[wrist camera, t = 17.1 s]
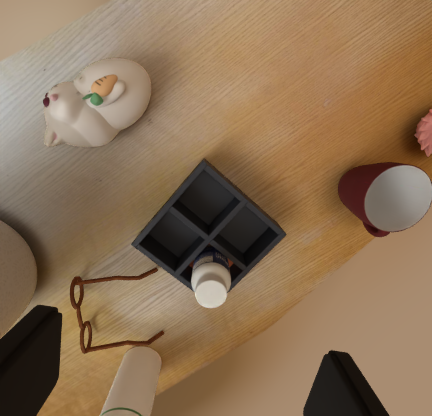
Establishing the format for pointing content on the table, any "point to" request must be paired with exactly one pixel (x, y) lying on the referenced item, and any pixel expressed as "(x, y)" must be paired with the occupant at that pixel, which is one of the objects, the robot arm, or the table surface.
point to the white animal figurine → (96, 103)
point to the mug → (386, 196)
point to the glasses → (80, 282)
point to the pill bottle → (211, 277)
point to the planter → (14, 276)
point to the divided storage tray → (208, 227)
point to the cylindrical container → (134, 384)
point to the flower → (425, 133)
